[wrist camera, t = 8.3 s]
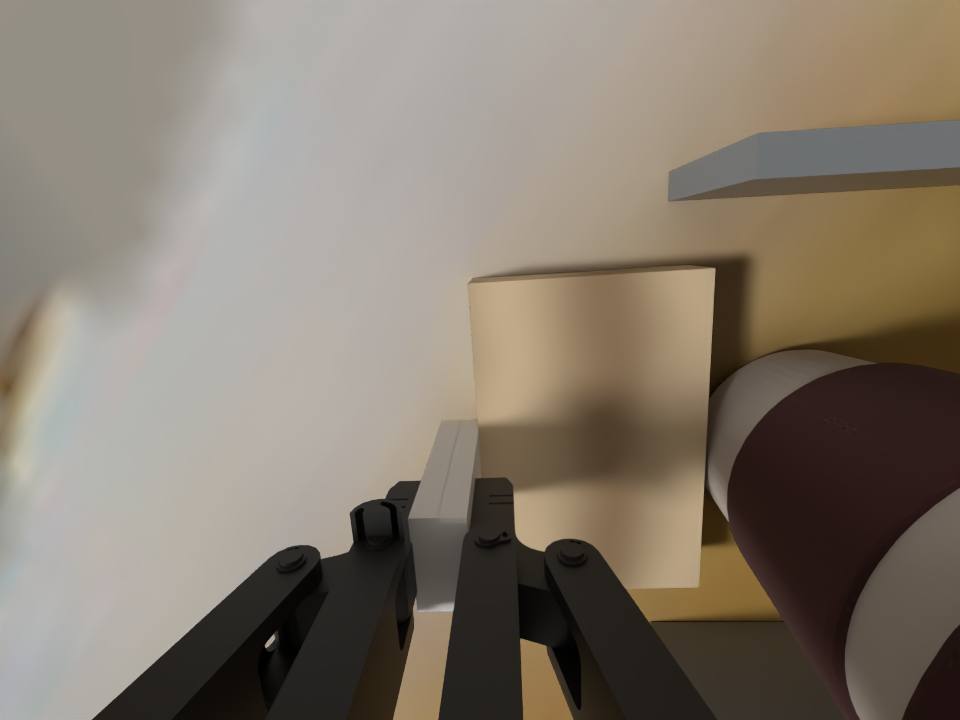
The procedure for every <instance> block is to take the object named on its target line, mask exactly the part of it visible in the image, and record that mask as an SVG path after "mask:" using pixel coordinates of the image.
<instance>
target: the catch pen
mask: <svg viewBox="0 0 960 720" xmlns="http://www.w3.org/2000/svg"><path fill="white" fill-rule="evenodd" d="M950 185H960V120H952V121H936V122H921V123H905V124H890V125H874V126H858V127H843V128H827V129H812V130H796V131H781V132H765V133H757V134H755V135H752V136H750V137H748V138H745V139H743V140H741V141H739V142H736V143H734V144H732V145H729V146H727V147H725V148H722V149H720V150H718V151H716V152H713V153H711V154H709V155H706V156H704V157H702V158H700V159H697V160H695V161H693V162H690V163H688V164H686V165H683V166H681V167H679V168H677V169H674V170H672V171H670V172H669V194H668V201H684V200H701V199H719V198H737V197H755V196H772V195H790V194H808V193H826V192H844V191H861V190H879V189H897V188H915V187H933V186H950ZM650 625H651V626H652V627H653V629H654V630H655V632H656V633H657V635H658V636H659V637H660V639H661V640H662V642H663V643H664V644H665V646H666V647H667V649H668V650H669V652H670V653H671V654H672V656H673V657H674V659H675V660H676V662H677V663H678V664H679V666H680V667H681V669H682V670H683V672H684V673H685V674H686V676H687V677H688V679H689V680H690V681H691V683H692V684H693V686H694V687H695V689H696V690H697V691H698V693H699V694H700V696H701V697H702V699H703V700H704V701H705V703H706V704H707V706H708V707H709V709H710V710H711V711H712V713H713V714H714V716H715V717H716V718H717V720H847V719H846V718H845V716H844V714H843V713H842V711H841V710H840V708H839V707H838V705H837V703H836V702H835V700H834V699H833V697H832V696H831V694H830V692H829V691H828V689H827V688H826V686H825V685H824V683H823V681H822V680H821V678H820V677H819V675H818V674H817V672H816V670H815V669H814V667H813V666H812V664H811V662H810V661H809V659H808V658H807V656H806V655H805V653H804V651H803V650H802V648H801V647H800V645H799V644H798V642H797V640H796V639H795V637H794V636H793V634H792V633H791V631H790V629H789V628H788V626H787V625H786V623H785V622H650Z"/></svg>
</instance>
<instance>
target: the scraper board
mask: <svg viewBox="0 0 960 720" xmlns="http://www.w3.org/2000/svg"><path fill="white" fill-rule="evenodd" d="M714 286H715V268H710V267H702V266H693V265H678V266H663V267H647V268H631V269H615V270H599V271H584V272H568V273H552V274H536V275H520V276H505V277H489V278H473V279H472V280H471V281H470V282H469V283H468V295H469V309H470V323H471V337H472V351H473V365H474V379H475V393H476V407H477V421H478V429H479V446H480V462H481V477H482V478H501V477H507V479H508V480H509V481H510V482H511V483H512V484H513V492H514V515H515V533H516V537H517V538H518V540H519V541H520V542H521V543H523V544H524V545H526V546H527V547H529V548H532V549H535V550H539V551H544V552H545V550H546V547H547V546H548V545H550V544H551V543H552V542H554V541H557V540H561V539H572V538H573V539H578V540H583V541H585V542H587V543H590V544H592V545H593V546H594V547H595V548H596V549H597V550H598V551H599V552H600V553H601V555H602V556H603V558H604V559H605V560H606V562H607V563H608V565H609V566H610V568H611V569H612V570H613V572H614V573H615V575H616V576H617V578H618V579H619V580H620V582H621V583H622V585H623V586H624V588H625V589H643V588H696V587H699V575H700V556H701V536H702V517H703V498H704V479H705V459H706V440H707V421H708V402H709V382H710V363H711V344H712V325H713V305H714Z"/></svg>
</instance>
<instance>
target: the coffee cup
mask: <svg viewBox="0 0 960 720" xmlns="http://www.w3.org/2000/svg"><path fill="white" fill-rule="evenodd" d="M704 485H705V487H706V488H707V490H708V492H709V493H710V495H711V496H712V498H713V499H714V501H715V502H716V504H717V505H718V507H719V508H720V510H721V511H722V513H723V514H724V516H725V517H726V519H727V520H728V522H729V524H730V528H731V532H732V535H733V537H734V540H735V542H736V544H737V546H738V548H739V550H740V551H741V553H742V555H743V557H744V558H745V560H746V562H747V563H748V565H749V566H750V568H751V570H752V571H753V573H754V574H755V576H756V577H757V579H758V581H759V582H760V584H761V585H762V587H763V588H764V590H765V592H766V593H767V595H768V596H769V598H770V599H771V601H772V603H773V604H774V606H775V607H776V609H777V611H778V612H779V614H780V615H781V617H782V618H783V620H784V622H785V623H786V625H787V626H788V628H789V629H790V631H791V633H792V634H793V636H794V637H795V639H796V640H797V642H798V644H799V645H800V647H801V648H802V650H803V651H804V653H805V655H806V656H807V658H808V659H809V661H810V662H811V664H812V666H813V667H814V669H815V670H816V672H817V674H818V675H819V677H820V678H821V680H822V681H823V683H824V685H825V686H826V688H827V689H828V691H829V692H830V694H831V696H832V697H833V699H834V700H835V702H836V703H837V705H838V707H839V708H840V710H841V711H842V713H843V714H844V716H845V718H846V719H847V720H960V374H957V373H953V372H948V371H943V370H939V369H934V368H929V367H924V366H919V365H911V364H901V363H874V362H870V361H866V360H862V359H857V358H853V357H849V356H844V355H840V354H836V353H832V352H827V351H821V350H810V349H806V350H789V351H782V352H777V353H773V354H770V355H766V356H764V357H761V358H759V359H756V360H754V361H752V362H750V363H749V364H747V365H745V366H743V367H742V368H740V369H738V370H737V371H735V372H734V373H733V374H731V375H730V376H729V377H728V378H727V379H726V380H725V381H724V382H722V383H721V384H720V385H719V386H718V387H717V389H716V390H715V391H714V393H713V394H712V395H711V397H710V398H709V402H708V421H707V440H706V459H705V479H704Z"/></svg>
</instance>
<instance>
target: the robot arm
mask: <svg viewBox="0 0 960 720" xmlns="http://www.w3.org/2000/svg"><path fill="white" fill-rule="evenodd" d="M350 519H351V526H352V533H353V541H354V543H353V545H352V547H351V549H350V551H349V552H347V553H344V554H341V555H337V556H333V557H329V558H324V559H321V557H320V552H319V551H318V550H317V549H316V548H315V547H312V546H309V545H298V546H292V547H288V548H286V549H284V550H282V551H279V552H277V553H276V554H275V555H273V556H272V557H270V558H269V559H268V560H267V561H266V562H265V563H263V564H262V565H261V566H260V567H259V568H258V569H257V570H256V571H255V572H254V573H252V574H251V575H250V576H249V577H248V578H247V579H246V580H245V581H244V582H243V583H241V584H240V585H239V586H238V587H237V588H236V589H235V590H234V591H233V592H232V593H231V594H229V595H228V596H227V597H226V598H225V599H224V600H223V601H222V602H221V603H220V604H218V605H217V606H216V607H215V608H214V609H213V610H212V611H211V612H210V613H209V614H207V615H206V616H205V617H204V618H203V619H202V620H201V621H200V622H199V623H198V624H196V625H195V626H194V627H193V628H192V629H191V630H190V631H189V632H188V633H187V634H185V635H184V636H183V637H182V638H181V639H180V640H179V641H178V642H177V643H176V644H174V645H173V646H172V647H171V648H170V649H169V650H168V651H167V652H166V653H165V654H164V655H162V656H161V657H160V658H159V659H158V660H157V661H156V662H155V663H154V664H153V665H151V666H150V667H149V668H148V669H147V670H146V671H145V672H144V673H143V674H142V675H140V676H139V677H138V678H137V679H136V680H135V681H134V682H133V683H132V684H131V685H129V686H128V687H127V688H126V689H125V690H124V691H123V692H122V693H121V694H120V695H118V696H117V697H116V698H115V699H114V700H113V701H112V702H111V703H110V704H109V705H108V706H106V707H105V708H104V709H103V710H102V711H101V712H100V713H99V714H98V715H97V716H95V717H94V718H93V719H92V720H393V716H394V712H395V708H396V703H397V699H398V695H399V690H400V686H401V682H402V677H403V673H404V669H405V664H406V660H407V656H408V651H409V647H410V643H411V639H412V634H413V630H414V617H413V606H414V602H415V598H416V600H417V610H418V612H430V611H453V618H452V625H451V632H450V639H449V647H448V654H447V661H446V669H445V676H444V683H443V690H442V698H441V705H440V712H439V720H523V702H522V677H521V653H520V652H521V651H520V638H522V639H525V640H529V641H532V642H536V643H539V644H543V645H546V646H547V653H548V656H549V659H550V661H551V664H552V666H553V669H554V671H555V674H556V676H557V679H558V681H559V684H560V686H561V689H562V691H563V694H564V696H565V699H566V701H567V704H568V706H569V709H570V711H571V714H572V716H573V719H574V720H717V718H716V717H715V716H714V714H713V713H712V711H711V710H710V709H709V707H708V706H707V704H706V703H705V701H704V700H703V699H702V697H701V696H700V694H699V693H698V691H697V690H696V689H695V687H694V686H693V684H692V683H691V681H690V680H689V679H688V677H687V676H686V674H685V673H684V672H683V670H682V669H681V667H680V666H679V664H678V663H677V662H676V660H675V659H674V657H673V656H672V654H671V653H670V652H669V650H668V649H667V647H666V646H665V644H664V643H663V642H662V640H661V639H660V637H659V636H658V635H657V633H656V632H655V630H654V629H653V627H652V626H651V625H650V623H649V622H648V620H647V619H646V617H645V616H644V615H643V613H642V612H641V610H640V609H639V607H638V606H637V605H636V603H635V602H634V600H633V599H632V598H631V596H630V595H629V593H628V592H627V590H626V589H625V588H624V586H623V585H622V583H621V582H620V580H619V579H618V578H617V576H616V575H615V573H614V572H613V570H612V569H611V568H610V566H609V565H608V563H607V562H606V560H605V559H604V558H603V556H602V555H601V553H600V552H599V551H598V550H597V549H596V548H595V547H594V546H593V545H592V544H590V543H587V542H585V541H583V540H578V539H573V538H572V539H561V540H557V541H554V542H552V543H551V544H550V545H548V546H547V547H546V550H545V552H544V551H539V550H535V549H532V548H529V547H527V546H526V545H524V544H523V543H521V542H520V541H519V540H518V538H517V537H516V533H515V515H514V492H513V484H512V483H511V482H510V481H509V480H508V479H507V477H501V478H482V477H481V462H480V446H479V429H478V421H477V420H447V421H442V422H441V425H440V428H439V430H438V433H437V436H436V439H435V442H434V445H433V448H432V451H431V454H430V456H429V459H428V462H427V465H426V468H425V471H424V474H423V477H422V480H421V481H399V482H398V483H397V484H396V485H395V486H393V487H392V488H391V489H390V490H389V492H388V494H387V496H386V498H385V499H377V500H371V501H368V502H365V503H362V504H360V505H359V506H357V507H355V508H354V509H353V510H352V511H351V513H350ZM273 634H274V635H275V640H274V641H273V642H272V644H271V645H270V646H269V647H267V648H265V644H266V642H267V641H268V640H269V639H270V638H271V636H272V635H273Z"/></svg>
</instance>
